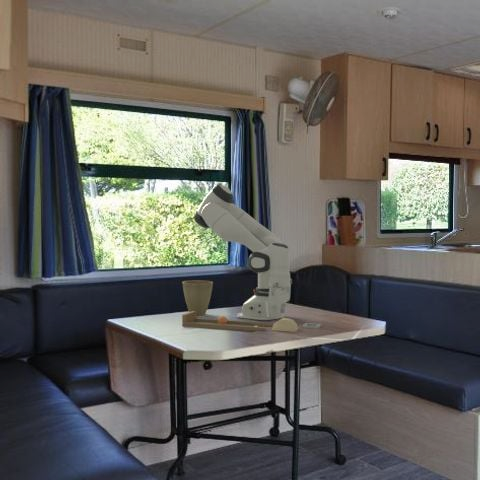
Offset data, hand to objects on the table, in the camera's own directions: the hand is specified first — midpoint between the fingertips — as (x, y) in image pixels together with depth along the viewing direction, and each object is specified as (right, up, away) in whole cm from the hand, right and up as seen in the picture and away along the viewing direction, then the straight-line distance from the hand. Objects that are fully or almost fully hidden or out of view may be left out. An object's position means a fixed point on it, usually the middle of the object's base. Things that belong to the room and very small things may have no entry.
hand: (279, 314), depth 248 cm
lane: (-16, -11, +7) cm, 21 cm away
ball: (-23, -5, +9) cm, 25 cm away
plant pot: (-37, -5, +40) cm, 55 cm away
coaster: (+14, -7, +6) cm, 17 cm away
